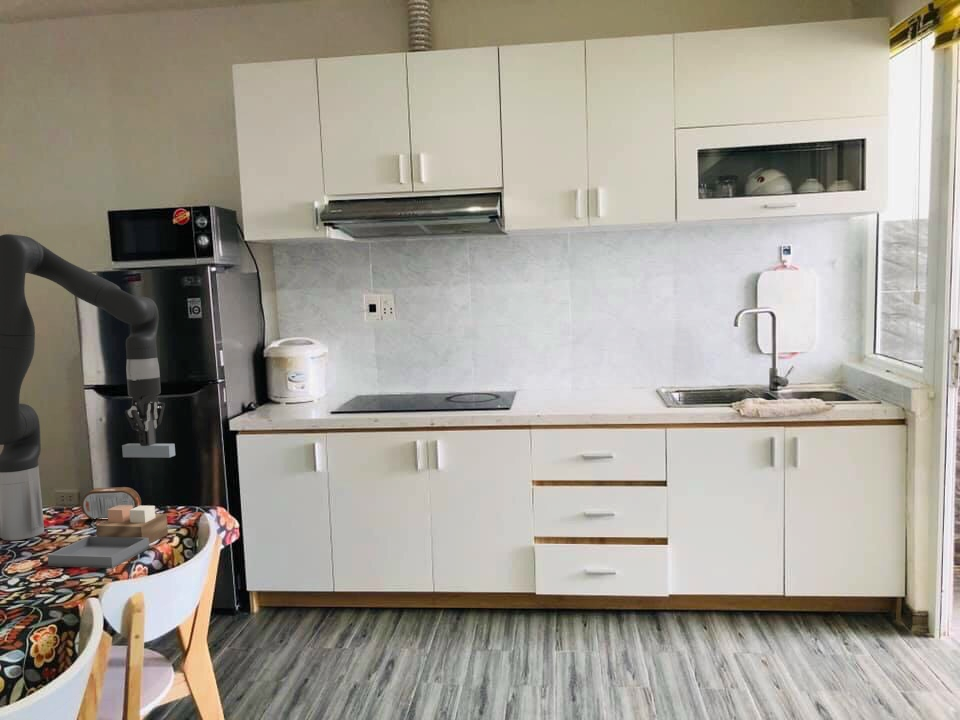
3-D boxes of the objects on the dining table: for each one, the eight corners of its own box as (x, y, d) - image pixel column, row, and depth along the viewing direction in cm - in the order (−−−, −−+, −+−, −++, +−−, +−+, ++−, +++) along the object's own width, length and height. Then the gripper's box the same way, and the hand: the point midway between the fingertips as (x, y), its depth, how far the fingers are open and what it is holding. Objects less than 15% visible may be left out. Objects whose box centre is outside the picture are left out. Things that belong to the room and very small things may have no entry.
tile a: (108, 521, 180) (107, 509, 180) (119, 516, 184) (118, 505, 184) (122, 522, 179) (121, 510, 179) (133, 517, 183) (132, 505, 183)
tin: (142, 515, 202) (140, 485, 202) (137, 519, 199) (135, 488, 198) (86, 518, 202) (84, 488, 201) (80, 522, 199) (78, 491, 198)
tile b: (130, 522, 179) (129, 510, 179) (140, 517, 183) (139, 505, 183) (145, 522, 178) (144, 510, 178) (155, 517, 182) (154, 505, 182)
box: (48, 565, 165) (47, 555, 165) (89, 546, 178) (88, 536, 178) (112, 568, 162) (111, 557, 162) (149, 548, 175) (148, 537, 175)
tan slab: (97, 546, 178) (96, 525, 177) (125, 532, 187) (123, 513, 187) (142, 547, 175) (141, 526, 175) (168, 533, 185) (166, 514, 185)
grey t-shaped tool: (122, 457, 188) (119, 414, 187) (129, 455, 191) (126, 412, 190) (169, 457, 186) (166, 414, 185) (175, 455, 188) (172, 412, 187)
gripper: (146, 373, 194) (151, 439, 195) (111, 379, 180) (116, 450, 182) (173, 373, 193) (177, 439, 194) (139, 379, 179) (144, 450, 181)
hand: (148, 444), depth 188 cm, fingers closed on grey t-shaped tool, 2 cm apart
